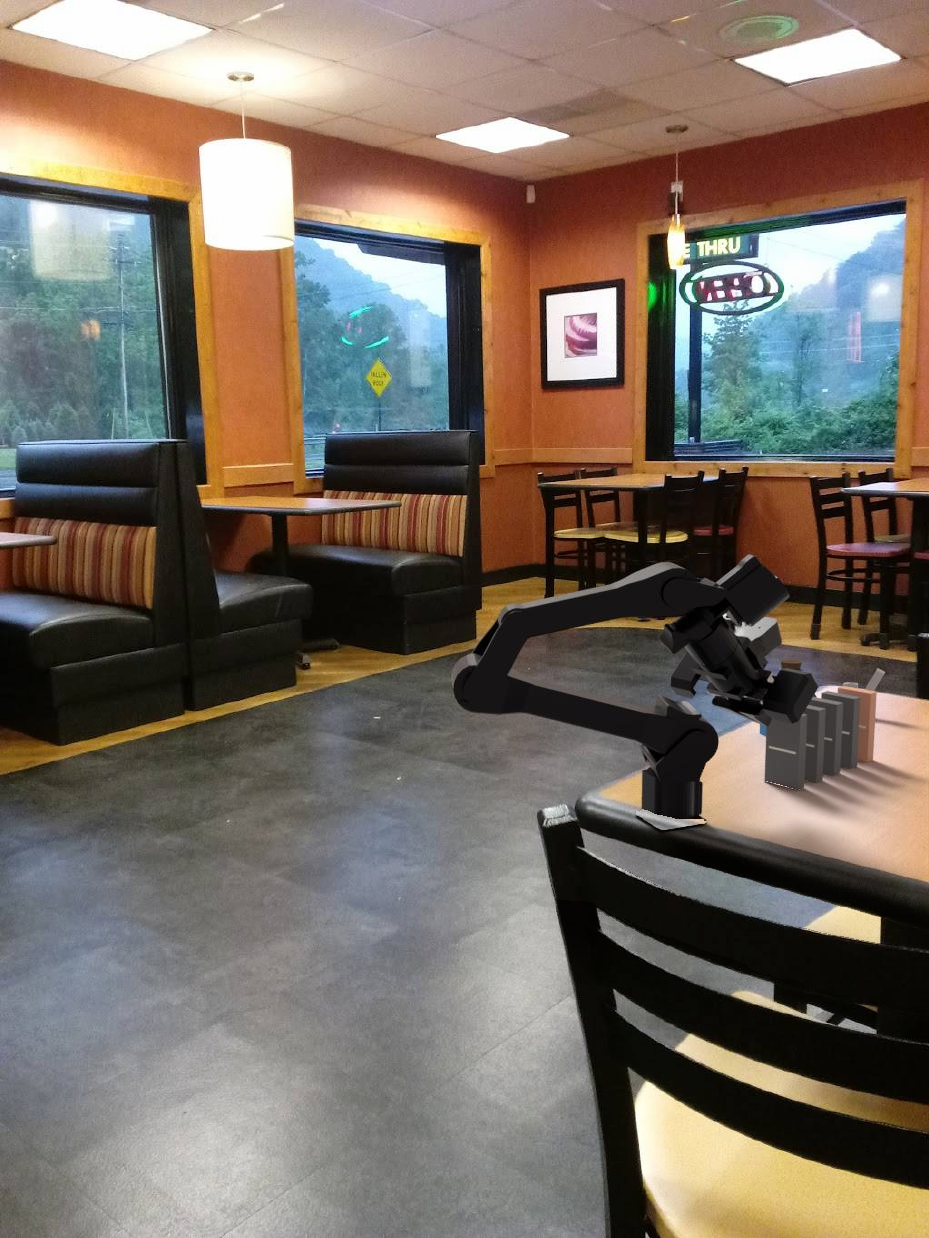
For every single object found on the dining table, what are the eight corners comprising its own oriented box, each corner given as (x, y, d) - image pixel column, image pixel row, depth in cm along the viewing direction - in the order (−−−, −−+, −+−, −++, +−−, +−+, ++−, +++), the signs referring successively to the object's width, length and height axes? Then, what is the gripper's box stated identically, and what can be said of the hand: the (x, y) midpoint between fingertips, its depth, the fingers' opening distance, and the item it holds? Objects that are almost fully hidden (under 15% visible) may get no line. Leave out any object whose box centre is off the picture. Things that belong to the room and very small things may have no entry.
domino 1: (797, 790, 139) (800, 716, 137) (764, 781, 143) (766, 709, 141) (804, 788, 140) (807, 714, 138) (771, 779, 144) (773, 707, 142)
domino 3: (833, 775, 145) (837, 704, 143) (801, 767, 149) (804, 698, 147) (840, 773, 146) (843, 702, 144) (807, 765, 150) (810, 696, 148)
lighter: (836, 713, 177) (838, 666, 175) (837, 711, 178) (840, 664, 177) (881, 718, 174) (884, 670, 172) (882, 715, 175) (885, 668, 174)
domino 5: (867, 762, 151) (870, 693, 149) (834, 754, 154) (838, 687, 153) (873, 759, 152) (876, 691, 150) (840, 752, 155) (844, 685, 154)
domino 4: (850, 768, 148) (854, 699, 146) (818, 761, 151) (821, 692, 150) (856, 766, 149) (860, 697, 147) (824, 758, 153) (827, 691, 151)
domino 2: (815, 783, 142) (819, 710, 140) (783, 774, 146) (785, 703, 144) (822, 780, 143) (825, 708, 141) (789, 772, 147) (792, 701, 145)
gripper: (814, 606, 122) (861, 686, 131) (688, 587, 137) (738, 661, 145) (768, 682, 119) (820, 760, 127) (643, 655, 133) (698, 726, 142)
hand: (767, 722), depth 135 cm, fingers closed
